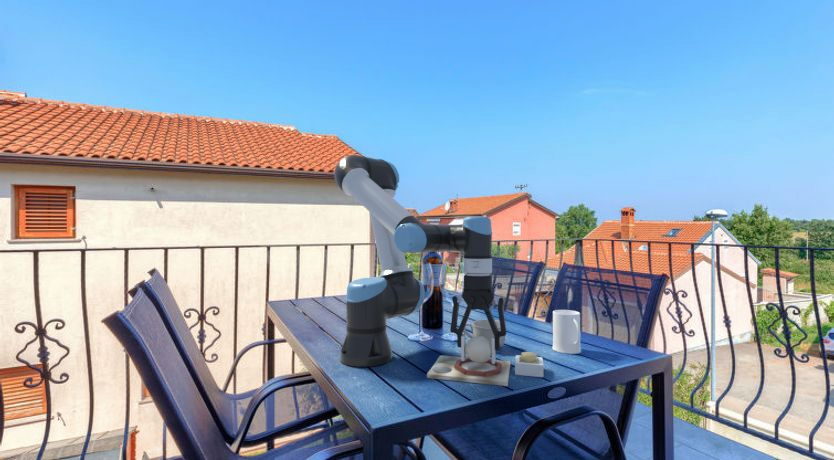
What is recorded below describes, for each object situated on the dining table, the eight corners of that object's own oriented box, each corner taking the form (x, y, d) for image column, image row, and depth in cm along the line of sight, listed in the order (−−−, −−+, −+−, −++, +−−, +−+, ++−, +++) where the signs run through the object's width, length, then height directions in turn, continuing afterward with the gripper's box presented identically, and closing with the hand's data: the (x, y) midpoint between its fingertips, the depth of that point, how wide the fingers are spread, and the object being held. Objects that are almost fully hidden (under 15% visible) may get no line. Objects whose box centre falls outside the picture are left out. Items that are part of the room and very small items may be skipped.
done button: (521, 361, 101) (521, 355, 101) (521, 357, 105) (521, 351, 105) (537, 363, 100) (537, 356, 100) (536, 358, 104) (536, 352, 104)
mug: (591, 357, 114) (591, 316, 114) (563, 357, 114) (563, 317, 114) (573, 346, 126) (573, 309, 126) (548, 346, 126) (547, 309, 126)
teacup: (509, 345, 127) (508, 320, 127) (501, 354, 117) (501, 327, 117) (468, 340, 133) (468, 317, 133) (458, 348, 123) (458, 323, 123)
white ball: (468, 356, 106) (468, 332, 106) (494, 359, 104) (494, 334, 104) (461, 364, 100) (461, 338, 100) (489, 367, 97) (489, 341, 97)
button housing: (515, 374, 100) (515, 363, 100) (515, 365, 106) (515, 355, 106) (543, 377, 98) (543, 365, 98) (542, 368, 104) (542, 357, 105)
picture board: (426, 377, 97) (426, 370, 98) (440, 358, 113) (440, 352, 113) (507, 386, 92) (507, 378, 92) (510, 364, 107) (510, 358, 107)
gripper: (437, 274, 102) (438, 361, 101) (516, 276, 96) (517, 368, 95) (443, 272, 109) (444, 353, 108) (517, 273, 103) (518, 359, 103)
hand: (478, 360), depth 102 cm, fingers closed on white ball, 7 cm apart
